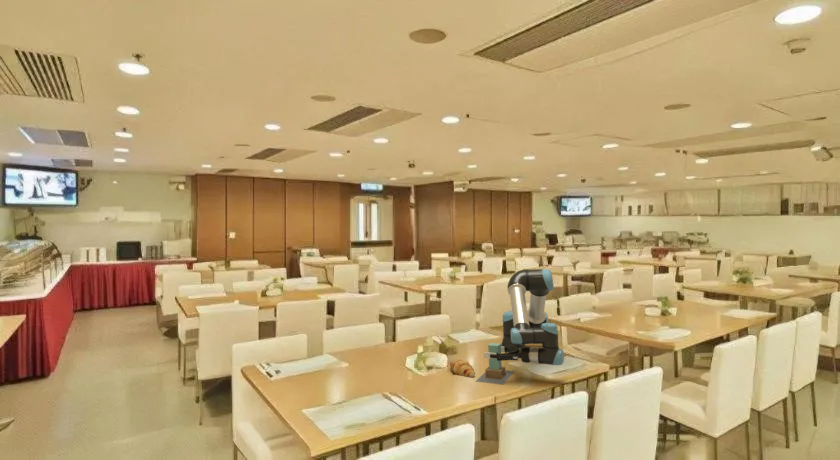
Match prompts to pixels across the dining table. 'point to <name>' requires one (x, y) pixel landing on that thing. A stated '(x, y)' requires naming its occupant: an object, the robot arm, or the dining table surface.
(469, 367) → the croissant
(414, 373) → the dining table surface
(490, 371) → the plinth
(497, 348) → the pillar
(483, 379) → the placemat
